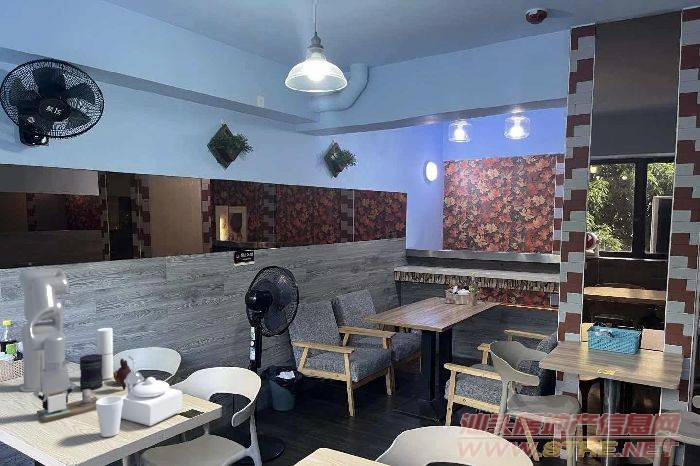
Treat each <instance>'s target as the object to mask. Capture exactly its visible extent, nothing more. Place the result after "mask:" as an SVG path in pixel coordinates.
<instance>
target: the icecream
mask: <svg viewBox="0 0 700 466" xmlns="http://www.w3.org/2000/svg"><path fill="white" fill-rule="evenodd" d="M119 363H120V367H119V368H118V369H117V370H116V371H117V376H116V378H117V379H119V380H120V383H121V387H122V390H123V391H125V390H126V389H127V387H126V383H124V379H126V377H127V375H128V374H129V373H130V372H132V370H131V368H130V366H129V365H128V361H127V360H125V359H124V358H121V359H120V362H119Z"/></svg>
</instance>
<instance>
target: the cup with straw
mask: <svg viewBox="0 0 700 466" xmlns="http://www.w3.org/2000/svg"><path fill="white" fill-rule="evenodd" d="M127 357H128V358H129V359H130V360H131V361H132V362H133V363H132V365H133V367H132V368H133V371H131V372H130V373H129V374H128V375H127V377H126V379H124V383H126V391H127V392H126V393H127V394H129V393H131V392H132V389H133V388H134V387H135V386H136V385H138V384H140V383H142V382H145V377H144V376H143V375H142V373H141V372H139V371H136V360H135V359H134V358H133V357H132V356H131V355H129V356H127Z"/></svg>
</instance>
